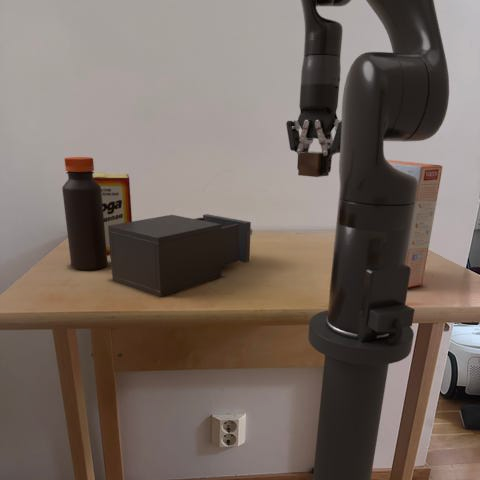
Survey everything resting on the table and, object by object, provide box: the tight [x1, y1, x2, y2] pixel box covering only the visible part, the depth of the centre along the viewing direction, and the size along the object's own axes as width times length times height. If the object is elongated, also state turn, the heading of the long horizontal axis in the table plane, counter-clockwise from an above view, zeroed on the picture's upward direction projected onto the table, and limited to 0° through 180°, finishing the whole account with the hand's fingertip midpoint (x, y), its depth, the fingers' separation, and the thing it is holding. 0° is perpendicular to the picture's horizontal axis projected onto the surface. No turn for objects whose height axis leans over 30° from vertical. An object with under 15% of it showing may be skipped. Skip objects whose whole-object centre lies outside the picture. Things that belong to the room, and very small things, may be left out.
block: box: [297, 151, 330, 178], centre depth 101 cm, size 5×5×5 cm
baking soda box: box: [93, 172, 133, 255], centre depth 103 cm, size 10×6×16 cm
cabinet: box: [108, 214, 222, 298], centre depth 86 cm, size 15×13×10 cm
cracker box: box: [386, 159, 443, 289], centre depth 87 cm, size 14×6×21 cm, turn 32°
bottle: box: [61, 156, 108, 271], centre depth 91 cm, size 7×7×20 cm
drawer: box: [195, 213, 253, 268], centre depth 95 cm, size 18×12×8 cm, turn 140°
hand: (313, 173), depth 101 cm, fingers closed on block, 4 cm apart
